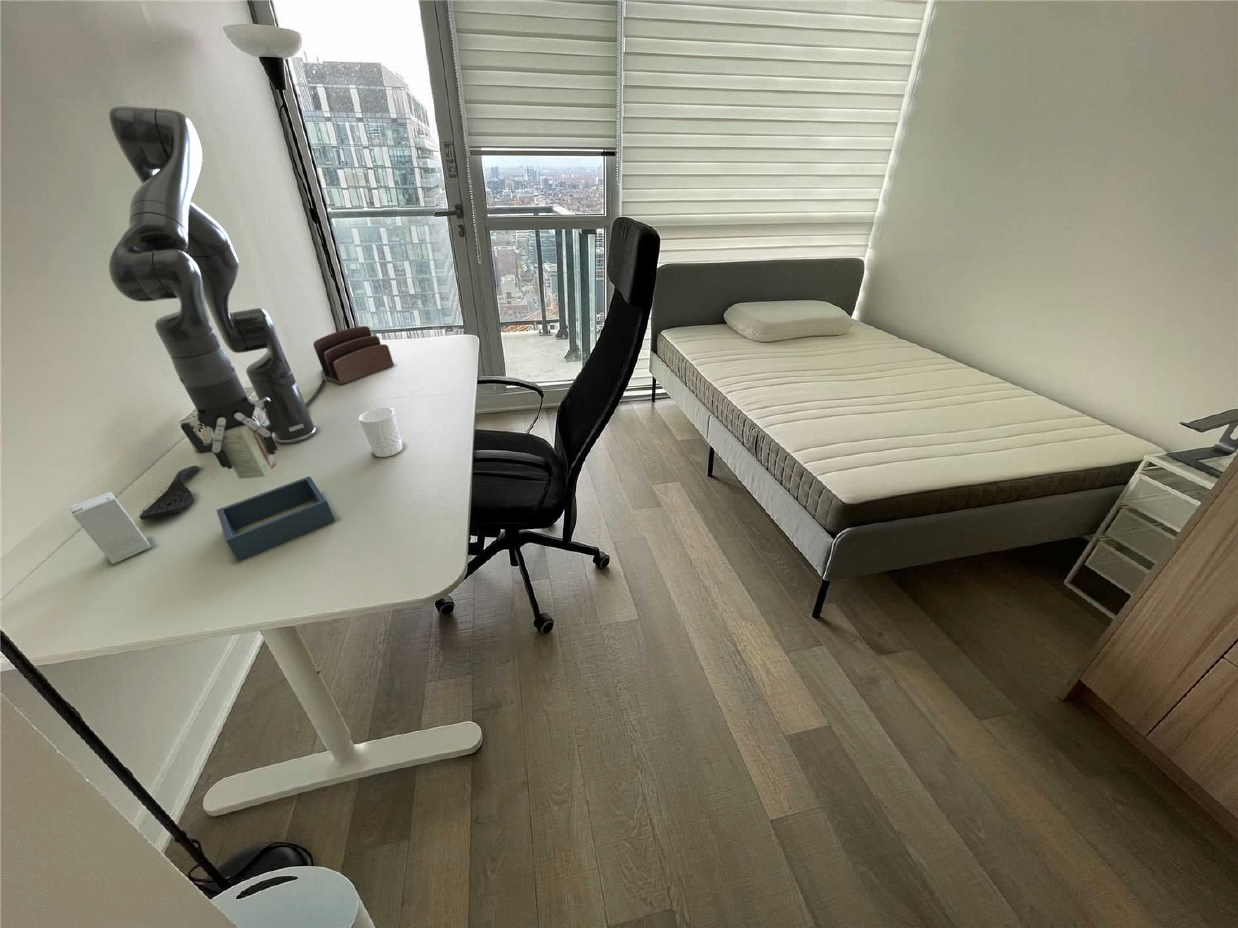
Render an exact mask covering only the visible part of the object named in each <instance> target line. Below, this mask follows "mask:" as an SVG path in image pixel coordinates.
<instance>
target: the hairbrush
mask: <svg viewBox="0 0 1238 928" xmlns="http://www.w3.org/2000/svg"><path fill="white" fill-rule="evenodd" d="M199 470H200V467H199V466H198V465H190V466H188V467H185V468H183V469H181V470H179V471H178V472H176V474H175V476H174V479H173V480H172V481H171V483H170V485H169V486H166V488H164V490H165V491H164V492H162V490H161V491H160V493H161V494H158V496H157V498H156V497H154V498H153V500H154V501H153V502H151V501H149V503H147V505H145V506H144V508H145V509H142V511H141V510H140V515H139V516H138V518H139V519H140V521H143V520H147V519H153V518H158V517H161V516H166V515H169V514H173V513H177V512H180V511H182V510H186V509H188V508H189V507H190V506H191V505H192V504H193V503H194V501H195V499H194V495H193V493H192V491H191V490H190V489H189V487H187V485H186V484H185V482H186V481H187V479H188V478H189V477H190V476H191V475H193V474H194V473H196V472H197V471H199ZM155 498H156V499H155ZM151 503H152V504H151Z"/></svg>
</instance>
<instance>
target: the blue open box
mask: <svg viewBox="0 0 1238 928" xmlns="http://www.w3.org/2000/svg"><path fill="white" fill-rule="evenodd" d="M312 500H315V502H314V503H312V504H309V505H307V506H304V507H302V508H299V509H296V510H294V511H291V512H289V513H286V514H283V515H281V516H279V517H276V518H273V519H271V520H268V521H266V522H263V523H261V524H258V525H256V526H253V527H251V528H250V527H249V528H248V529H245V530H243V531H241V532H238V533H236V530H237V529H240V528H243V527H245V526H247V525H250V524H252V523H255V522H257V521H260V520H263V519H265V518H268V517H270V516H273V515H276V514H278V513H281V512H284V511H286V510H289V509H291V508H294V507H296V506H299V505H302V504H304V503H306V502H309V501H312ZM216 513H217V516H218V519H219V522H220V526H221V529H222V533H223V535H224V538H225V541H226V543H227V545H228V547H229V548H230V550H231V552H232V553H233V555H234V556H235V558H236V560H237V562H241V561H243V560H245V559H247V558H251V557H253V556H255V555H257V554H260V553H262V552H264V551H267V550H269V549H271V548H274V547H276V546H279V545H281V544H284V543H286V542H288V541H290V540H293V539H295V538H298V537H300V536H303V535H306V534H307V533H310V532H313V531H315V530H318V529H320V528H322V527H325V526H328V525H329V524H332V523H334V522H336V519H335V517H334V515H333V513H332V510H331V508H330V506H329V503H328V501H327V499H326V498H325V496H324V495H323V493H322V492H321V490H320V489H319V487H318V486H317V484H316V483H315V481H314V480H313V479H312V477H311V476H310V475H309V476H306V477H303V478H300V479H298V480H294V481H292V482H289V483H287V484H284V485H280V486H278V487H275V488H273V489H269V490H268V491H264V492H262V493H259V494H256V495H253V496H251V497H248V498H246V499H242V500H239V501H237V502H234V503H231V504H228V505H226V506H223V507H220V508H218V509H216Z"/></svg>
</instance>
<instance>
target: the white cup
mask: <svg viewBox="0 0 1238 928" xmlns="http://www.w3.org/2000/svg"><path fill="white" fill-rule="evenodd" d="M358 420H359V423H360V425H361V427H362V430H363V433H364V435H365V438H366V439H367V442H368V444H369V445H370V448H371V450H372V452H373V454H374V456H375V457H378V458H387V457H391V456H395V455H396V454H398V453H400V452H401V451H402V450H403V442H402V439H401V433H400V428H399V425H398V421H397V417H396V413H395V410H394V408H392V407H385V406H383V407H376V408H372V409H369V410H366V411H364V412H363V413H361V414H360V415H359V417H358Z"/></svg>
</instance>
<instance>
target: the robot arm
mask: <svg viewBox="0 0 1238 928" xmlns="http://www.w3.org/2000/svg"><path fill="white" fill-rule="evenodd" d="M108 121H109V125H110V128H111V131H112V134H113V136H114V139H115V141H116V143H117V144H118V146H119V148H120V150H121V152H122V154H123V155H124V156H125V159H126V160H127V162H128V164H129V165H130V167H131V169H132V170H133V172H134V173H135V175H136V177H137V178H138V180H139V181H140V183H141V185H140V186H139V187H138V188H137V190H136V191H134V194H133V196H132V198H131V201H130V203H129V204H130V206H129V215H128V217H129V219H128V228H127V230H126V231H125V232H124V233H123V235H122V236H121V238H120V240H119V241H118V242H117V244H116V245H115V247H114V248H113V250H112V253H111V255H110V258H109V261H108V273H109V277H110V280H111V282H112V284H113V285H114V288H115V289H116V290H117V291H118V292H119V293H120V294H121V295H123V296H124V297H126V298H127V299H130V300H131V301H135V302H140V303H141V302H142V303H147V302H156V301H157V302H158V301H166V300H175V299H178V300H179V303H180V308H179V310H178V311H176V312H175V311H174V312H172V313H169V314H166V315H163V316H161V317H159V318H158V319H156V321H155V323H154V329H155V331H156V333H157V335H158V337H159V339H160V340H161V342H162V344H163V346H164V348H165V350H166V352H167V354H168V355H169V357H170V359H171V362H172V364H173V365H172V366H173V368H174V370H175V372H176V374H177V376H178V379H179V381H180V383H181V384H182V385H183V387H184V389H185V392H187V395H188V396H189V398H190V400H191V402H192V404H193V406H194V407H195V409H196V411H197V413H196V416H194V417H192V418H190V419H184V418H183V419H180V421H179V426H180V429H181V430H182V431H183V433H184V434H185V435H186V437H187V438H188V440H189V441H190V442H191V444H192V445H193V446H194V448H195V449H196V451H197V452H198V453H199V454H201V455H203V454H206V453H212V454H214V456H215V457H216V459H217V461H218V463H219V465H220V466H221V468H227V470H231V469H233V467H232V465H231V463H230V462H229V460H228V458H227V456H226V454H225V452H224V451H223V449H222V447H221V444H222V441H223V435H224V431H226V430H228V429H231V428H235V427H238V426H242V425H245V424H246V425H247V426H249V427H250V428H252V429H253V430H255V431H257V432H258V433H260V434H261V435H262V438H263V439H264V442H265V443H266V445H267V447H268V449H269V451H270V453H271V455H272V456H273V455H276V451H278V446H277V444H276V442H275V439H276V441H277V442H278V443H279V444H293V443H298V442H302V441H305V440H307V439H309V438H311V437H313V435H315V434H316V432H317V429H316V426H315V424H314V421H313V420H312V418H311V415H310V412H309V410H308V406H309V405H310V404H311V403H312V402H313V400H314V399H315V398H316V397H317V396H318V395H319V393H320V392H321V390H322V388H323V386H324V384H325V380H326V378H325V375H324V372H323V369H322V368H321V369H322V378H321V379H322V380H321V382H320V384H319V387H318V388H317V390H316V391H315V392H314V394H313V395H312V396H311V397H310V398H309V400H308V401H306V402H305V401H304V398H303V395H302V393H301V391H300V388H299V386H298V384H297V381H296V379H295V376H294V373H293V372H292V369H291V367H290V365H289V362H288V360H287V357H286V355H285V353H284V351H283V348H282V344H281V342H280V339H279V335H278V333H277V331H276V327H275V324H274V322H273V319H272V318H271V316H270V314H269V313H268V311H267V310H265V309H264V308H261V307H258V308H250V309H245V310H244V309H243V310H238V311H233V312H229V303H230V296H231V293H232V290H233V288H234V286H235V283H236V280H237V278H238V274H239V269H240V260H239V257H238V255H237V253H236V251H235V248H234V246H233V243H232V241H231V238H230V237H229V235H228V233H227V232H226V230H225V229H224V228H223V226H221V225H220V223H219V222H217V221H216V220H215V219H214V218H213V217H211V216H210V215H209V214H208V213H207V212H205V211H204V210H203V209H201V207H199V206H198V205H196V204H195V203H194V202H192V201H193V198H194V194H195V191H196V188H197V185H198V182H199V178H200V175H201V171H202V168H203V160H204V159H203V149H202V145H201V140H200V137H199V134H198V133H197V130H196V128H195V126H194V124H193V123H192V121H191V120H190V119H189V117H188V116H187V115H185V114H184V113H183V112H181V111H178V110H174V109H170V108H163V107H162V108H160V107H159V108H157V107H145V106H144V107H142V106H132V105H131V106H129V105H128V106H126V105H117V106H113V107H111V108H110V109H109V111H108ZM207 308H208V309H207ZM208 311H209V312H210V315H211V317H212V319H213V321H214V324H215V326H216V328H217V331H218V332H219V335H220V337H221V339H222V340H223V342H224V344H225V345H226V347H227V348H228V350H230V351H231V352H232V353H234V354H243V353H248V352H253V351H259V350H263V349H264V350H265V349H266V352H265V353H264V355H262V357H260V358H259V359H257V360H256V361H254V362H252V363H251V364H249V365H248V366H247V367H246V369H245V372H246V374H247V378H248V380H249V382H250V384H251V386H252V388H253V391H254V393H255V395H256V397H257V399H258V400H252V399H250V398H249V397H248V394H247V393H246V391H245V389H244V387H243V385H242V383H241V380H240V378H239V376H238V374H237V372H236V370H235V369H236V368H235V366H234V365H233V364H232V361H231V359H230V357H229V356H228V354H227V353H226V351H225V349H223V346H222V345H221V343H220V340H219V339H218V335H217V334H216V332H215V330H214V327H213V325H212V323H211V320H210V317H209V313H208ZM257 408H258V409H259V410H260V411H261V412H263V413H264V414H265V416H266V419H267V420H268V424H267V425H264V424H263V423H261V422H260V421H258V419H256V418H255V417H253V416H254V413H255V411H256V409H257ZM251 419H253V420H254V421H253V420H251ZM200 424H202V425H204V426H205V427H208V428H210V429H211V438H210V442H204V441H203V439H202V438H201V437H200V435H199V434H198V431H199V430H200V428H199V425H200ZM252 424H253V425H252ZM214 431H215V433H213V432H214ZM273 434H274V435H275V439H274V438H273Z"/></svg>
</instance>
